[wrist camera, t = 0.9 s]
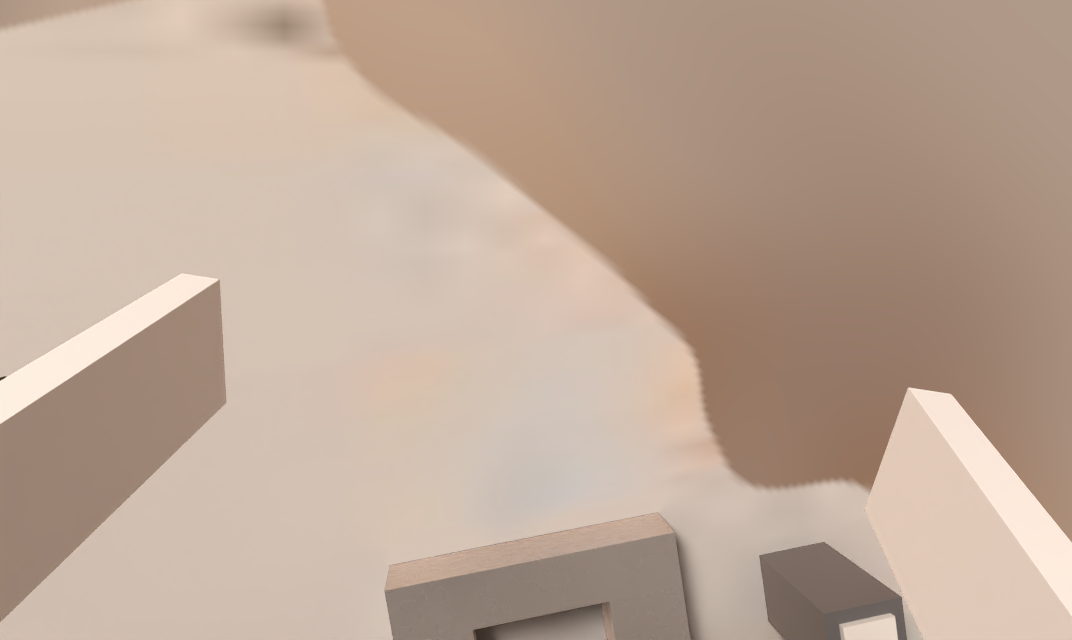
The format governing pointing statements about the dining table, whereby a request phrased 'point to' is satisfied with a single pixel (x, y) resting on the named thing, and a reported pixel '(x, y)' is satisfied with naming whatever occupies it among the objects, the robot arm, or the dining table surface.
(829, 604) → the plug
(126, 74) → the dining table surface
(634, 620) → the socket plate
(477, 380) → the dining table surface
